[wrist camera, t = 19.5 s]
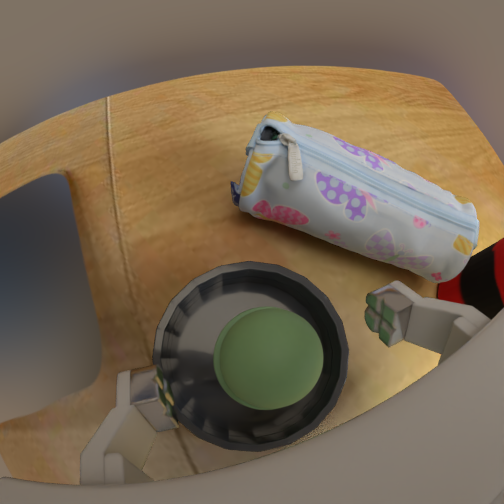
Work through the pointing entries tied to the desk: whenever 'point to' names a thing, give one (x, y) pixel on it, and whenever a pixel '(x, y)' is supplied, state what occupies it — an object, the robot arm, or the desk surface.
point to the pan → (203, 343)
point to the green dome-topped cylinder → (268, 358)
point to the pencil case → (354, 200)
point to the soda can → (479, 282)
